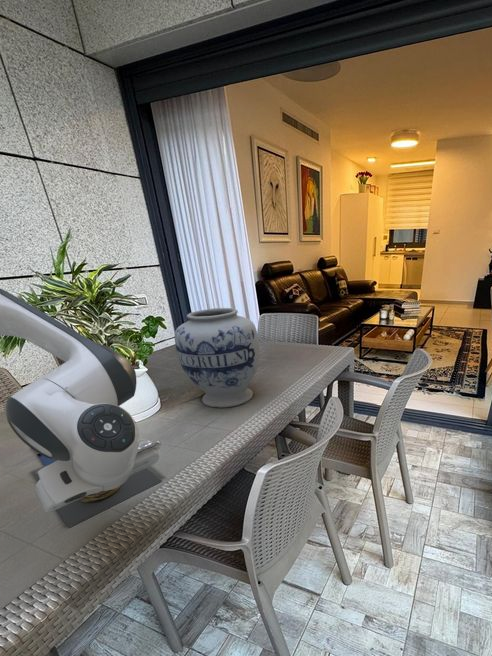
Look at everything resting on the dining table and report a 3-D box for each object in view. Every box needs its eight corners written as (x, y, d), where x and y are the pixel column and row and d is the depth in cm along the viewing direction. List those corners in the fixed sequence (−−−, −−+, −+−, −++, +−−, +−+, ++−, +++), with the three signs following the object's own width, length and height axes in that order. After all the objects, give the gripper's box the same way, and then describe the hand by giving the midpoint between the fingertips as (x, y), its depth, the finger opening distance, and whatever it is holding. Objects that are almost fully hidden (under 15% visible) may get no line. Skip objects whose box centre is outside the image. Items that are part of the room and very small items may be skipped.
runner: (68, 528, 72) (68, 527, 72) (34, 475, 88) (33, 474, 88) (162, 481, 84) (162, 480, 84) (116, 442, 101) (116, 442, 101)
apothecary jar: (172, 406, 121) (148, 317, 107) (222, 379, 142) (207, 302, 128) (235, 419, 111) (218, 323, 96) (278, 388, 132) (270, 305, 117)
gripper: (153, 425, 67) (145, 450, 78) (25, 475, 54) (35, 497, 65) (170, 453, 67) (159, 474, 77) (44, 510, 54) (52, 526, 64)
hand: (102, 485), depth 71 cm, fingers closed
